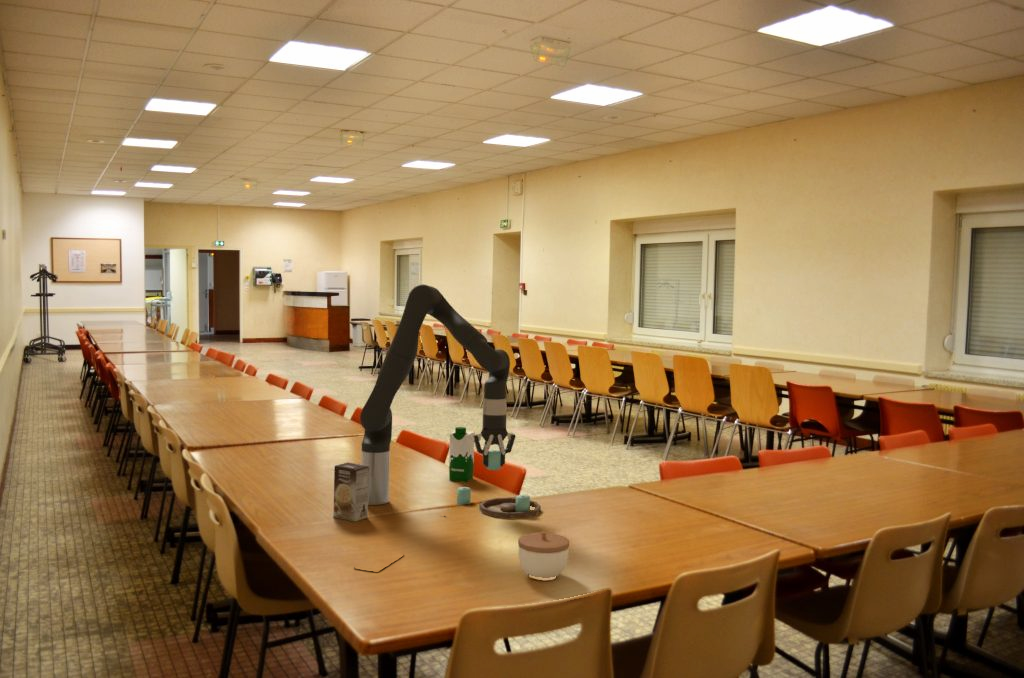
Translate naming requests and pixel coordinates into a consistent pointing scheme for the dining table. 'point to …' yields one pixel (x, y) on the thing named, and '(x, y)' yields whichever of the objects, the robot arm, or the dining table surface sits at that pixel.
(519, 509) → the bead
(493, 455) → the bead
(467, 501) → the bead
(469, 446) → the milk carton
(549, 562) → the lidded bowl
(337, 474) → the coffee box
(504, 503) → the ring tray
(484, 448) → the robot arm
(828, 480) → the dining table surface
